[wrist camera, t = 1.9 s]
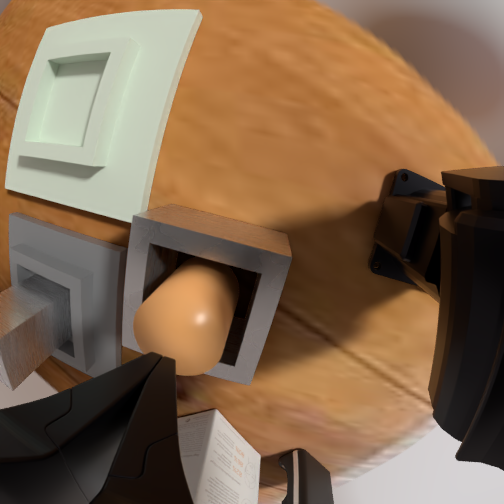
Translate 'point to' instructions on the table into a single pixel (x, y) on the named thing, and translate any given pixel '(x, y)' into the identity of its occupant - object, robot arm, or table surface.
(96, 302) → the charcoal socket
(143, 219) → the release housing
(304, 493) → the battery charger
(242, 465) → the small box
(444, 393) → the robot arm
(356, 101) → the table surface
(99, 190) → the pale green socket
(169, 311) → the tan egg
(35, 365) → the steel peg
